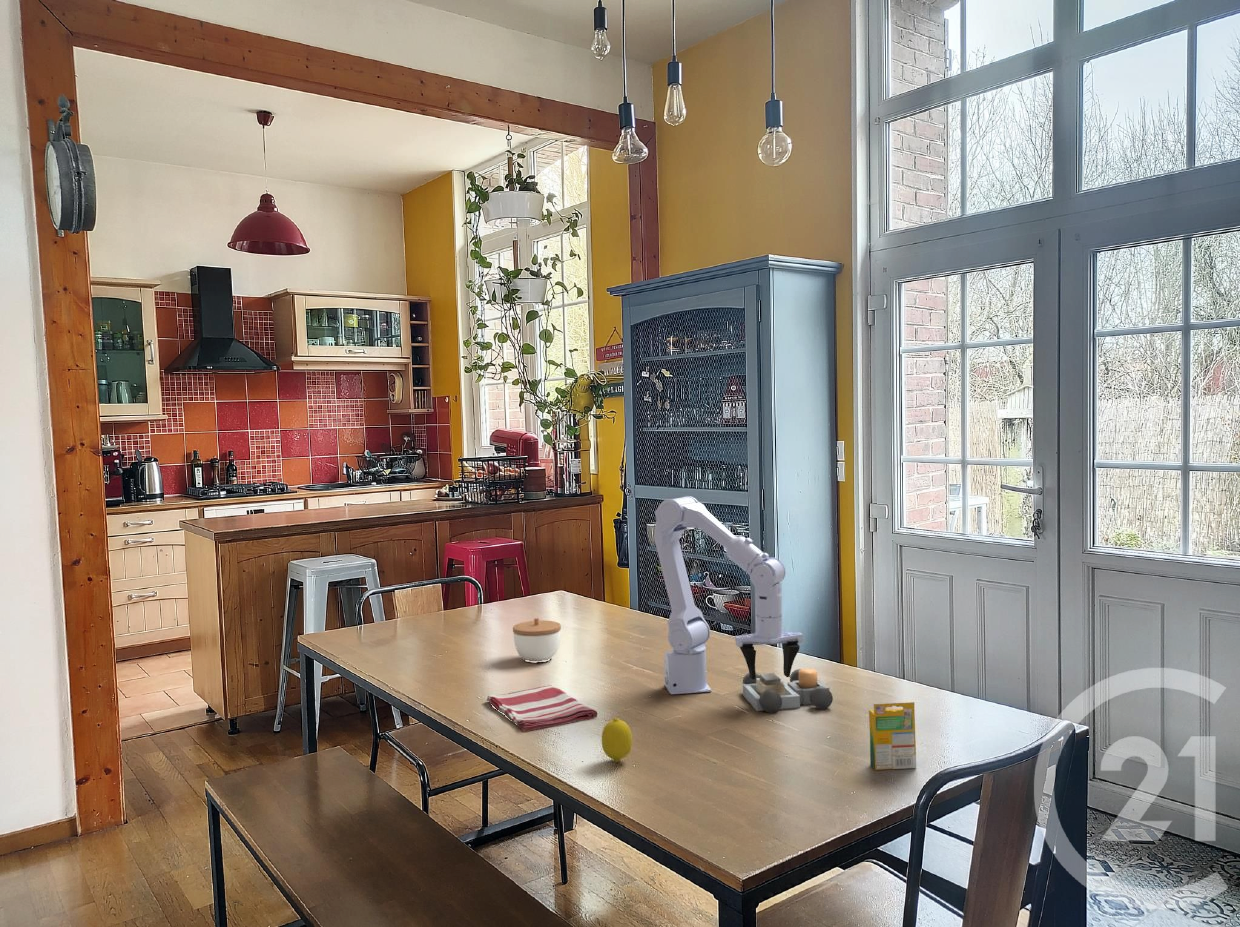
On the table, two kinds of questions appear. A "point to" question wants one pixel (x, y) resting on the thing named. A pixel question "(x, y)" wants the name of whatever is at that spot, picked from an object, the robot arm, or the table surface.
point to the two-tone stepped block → (769, 684)
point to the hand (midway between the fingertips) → (769, 677)
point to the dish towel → (541, 707)
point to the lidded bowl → (537, 639)
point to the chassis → (787, 695)
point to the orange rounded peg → (807, 678)
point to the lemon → (616, 739)
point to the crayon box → (892, 736)
